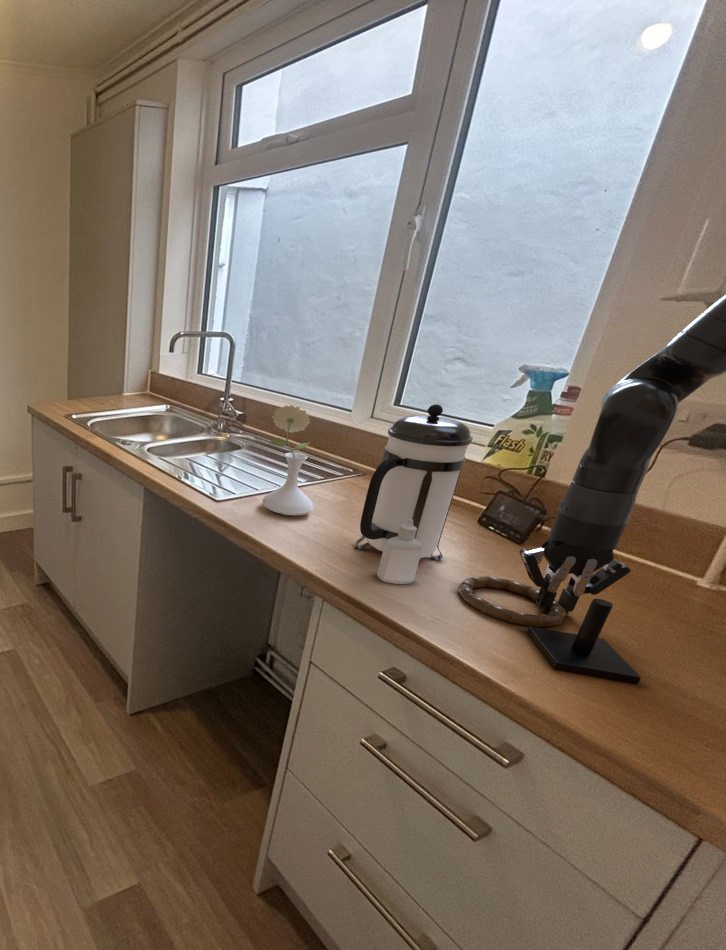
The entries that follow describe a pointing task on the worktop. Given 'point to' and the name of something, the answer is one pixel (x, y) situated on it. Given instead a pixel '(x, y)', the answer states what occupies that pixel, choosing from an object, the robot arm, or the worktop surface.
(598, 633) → the stand
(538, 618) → the ring
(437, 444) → the coffee press
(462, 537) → the worktop surface
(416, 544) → the eye dropper bottle
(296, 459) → the flower in vase
